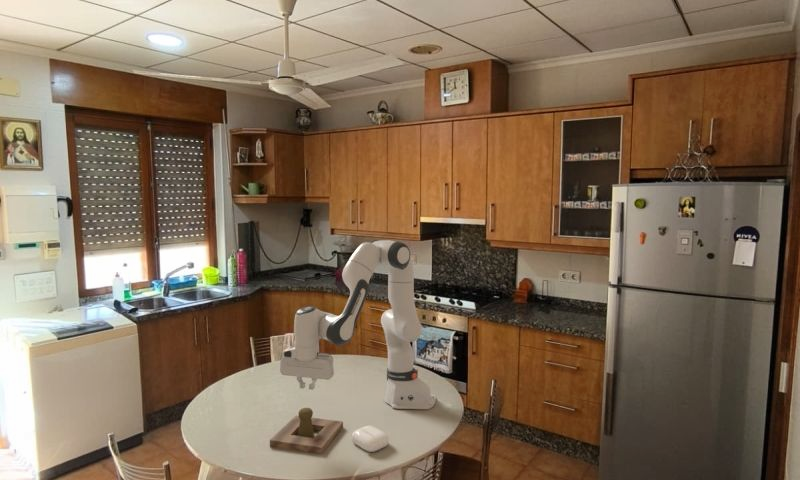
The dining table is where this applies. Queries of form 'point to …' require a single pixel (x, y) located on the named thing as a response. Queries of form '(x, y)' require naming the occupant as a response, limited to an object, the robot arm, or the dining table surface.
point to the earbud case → (370, 438)
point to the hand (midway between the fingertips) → (307, 388)
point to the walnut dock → (305, 444)
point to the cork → (306, 423)
